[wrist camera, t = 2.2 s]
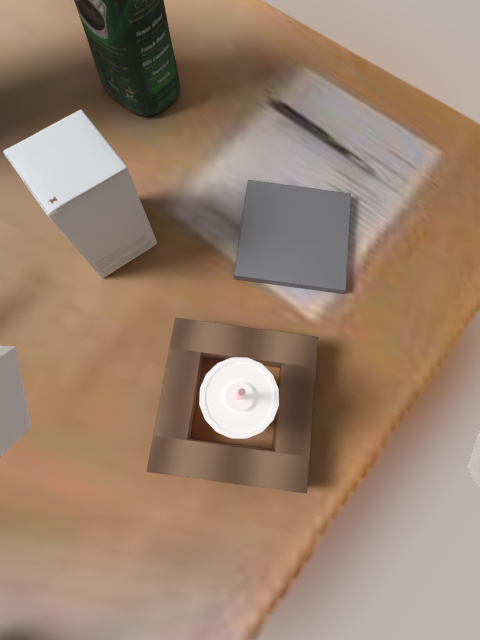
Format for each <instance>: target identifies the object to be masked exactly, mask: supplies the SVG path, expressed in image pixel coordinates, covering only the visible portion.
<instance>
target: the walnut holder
mask: <svg viewBox="0 0 480 640" xmlns="http://www.w3.org/2000/svg"><path fill="white" fill-rule="evenodd" d="M317 348H318V337H315V336H307V335H300V334H292V333H285V332H278V331H270V330H263V329H255V328H248V327H241V326H233V325H226V324H218V323H211V322H204V321H196V320H189V319H181V318H175V322H174V327H173V333H172V338H171V343H170V349H169V354H168V359H167V365H166V370H165V376H164V381H163V386H162V392H161V397H160V402H159V408H158V413H157V418H156V424H155V429H154V435H153V440H152V445H151V451H150V456H149V461H148V467H147V472H152V473H160V474H167V475H174V476H182V477H189V478H196V479H204V480H211V481H218V482H226V483H233V484H241V485H248V486H255V487H263V488H270V489H277V490H285V491H292V492H299V493H307V484H308V470H309V457H310V443H311V430H312V416H313V402H314V389H315V375H316V362H317ZM203 357H205V358H212V359H219V360H227V359H229V358H232V357H241V358H249V359H252V360H254V361H257V362H259V363H261V364H262V365H264V366H271V367H279V368H280V374H279V384H278V389H279V406H278V409H277V412H276V414H275V424H274V434H273V444H272V449H264V448H257V447H250V446H242V445H235V444H228V443H220V442H213V441H205V440H198V439H191V438H190V436H191V430H192V423H193V417H194V411H195V405H196V398H197V392H198V386H199V380H200V373H201V367H202V361H203Z"/></svg>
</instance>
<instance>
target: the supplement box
mask: <svg viewBox="0 0 480 640" xmlns="http://www.w3.org/2000/svg"><path fill="white" fill-rule="evenodd" d="M3 152H4V154H5V156H6V157H7V159H8V160H9V162H10V163H11V164H12V166H13V167H14V169H15V170H16V172H17V173H18V174H19V176H20V177H21V179H22V180H23V182H24V183H25V185H26V186H27V187H28V189H29V190H30V191H31V193H32V194H33V196H34V197H35V198H36V200H37V201H38V203H39V204H40V206H41V207H42V209H43V210H44V211H45V213H46V214H47V216H48V217H49V218H50V219H51V220H52V221H53V223H54V224H55V225H56V226H57V227H58V228H59V229H60V231H61V232H62V233H63V234H64V235H65V236H66V238H67V239H68V240H69V241H70V242H71V243H72V244H73V245H74V247H75V248H76V249H77V250H78V251H79V252H80V254H81V255H82V256H83V257H84V258H85V259H86V260H87V261H88V263H89V264H90V265H91V266H92V267H93V268H94V270H95V271H96V272H97V273H98V274H99V275H100V277H101V278H104V277H106V276H108V275H109V274H111V273H113V272H114V271H116V270H117V269H119V268H120V267H122V266H124V265H125V264H127V263H128V262H130V261H131V260H133V259H135V258H136V257H138V256H139V255H141V254H142V253H144V252H145V251H147V250H149V249H150V248H152V247H153V246H154V245H156V244H157V241H156V238H155V235H154V233H153V230H152V228H151V226H150V223H149V221H148V218H147V216H146V213H145V211H144V208H143V206H142V203H141V201H140V198H139V196H138V194H137V191H136V189H135V186H134V184H133V181H132V179H131V176H130V174H129V171H128V168H127V166H126V165H125V164H124V162H123V161H122V159H121V158H120V157H119V156H118V154H117V153H116V152H115V151H114V149H113V148H112V147H111V146H110V144H109V143H108V142H107V140H106V139H105V138H104V137H103V135H102V134H101V133H100V132H99V130H98V129H97V128H96V127H95V125H94V124H93V123H92V122H91V121H90V119H89V118H88V117H87V116H86V114H85V113H84V112H83V111H82V110H79V111H77V112H75V113H73V114H71V115H69V116H67V117H65V118H63V119H62V120H60V121H58V122H56V123H54V124H52V125H50V126H48V127H47V128H45V129H43V130H41V131H39V132H38V133H36V134H34V135H32V136H30V137H28V138H27V139H25V140H23V141H21V142H19V143H17V144H15V145H13V146H11V147H9V148H7V149H5V150H4V151H3Z"/></svg>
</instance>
